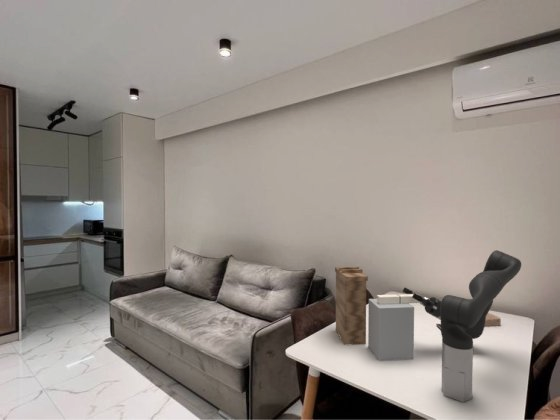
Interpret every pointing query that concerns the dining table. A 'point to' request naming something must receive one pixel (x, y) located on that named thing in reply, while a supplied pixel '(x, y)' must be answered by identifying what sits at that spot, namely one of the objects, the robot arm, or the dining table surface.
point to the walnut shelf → (351, 304)
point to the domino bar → (396, 299)
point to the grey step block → (391, 330)
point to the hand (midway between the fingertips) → (408, 292)
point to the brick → (492, 320)
